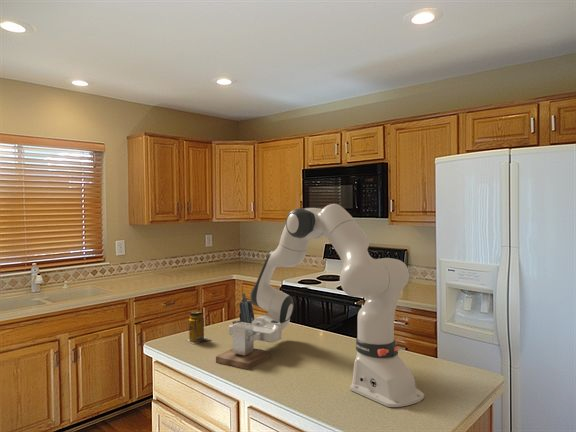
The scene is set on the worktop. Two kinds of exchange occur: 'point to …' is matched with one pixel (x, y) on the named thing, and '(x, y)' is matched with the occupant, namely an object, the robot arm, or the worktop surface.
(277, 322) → the robot arm
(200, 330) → the condiment
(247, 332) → the tall wooden block
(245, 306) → the gun
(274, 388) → the worktop surface
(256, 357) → the wooden base with peg
